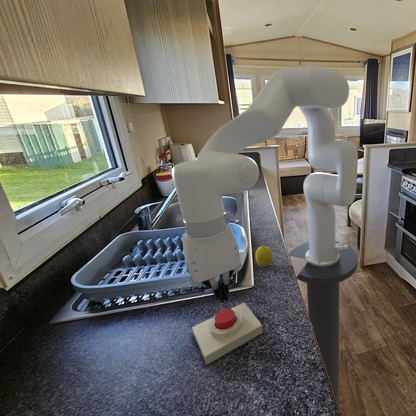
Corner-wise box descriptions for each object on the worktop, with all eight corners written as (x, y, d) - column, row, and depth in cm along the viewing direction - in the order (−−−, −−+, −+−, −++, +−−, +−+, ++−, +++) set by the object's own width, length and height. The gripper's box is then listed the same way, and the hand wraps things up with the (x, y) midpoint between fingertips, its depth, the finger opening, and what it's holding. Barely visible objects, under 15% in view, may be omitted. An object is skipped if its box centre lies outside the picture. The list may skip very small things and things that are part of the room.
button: (231, 312, 64) (230, 305, 63) (238, 323, 60) (237, 316, 60) (213, 321, 61) (211, 314, 60) (219, 333, 58) (218, 326, 57)
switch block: (245, 309, 69) (243, 297, 68) (262, 332, 62) (261, 319, 61) (193, 335, 62) (190, 322, 60) (206, 365, 55) (203, 351, 53)
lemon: (268, 273, 84) (265, 251, 81) (253, 269, 86) (250, 248, 83) (276, 263, 89) (274, 243, 86) (262, 261, 91) (260, 240, 88)
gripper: (235, 209, 58) (246, 276, 65) (160, 229, 50) (182, 304, 57) (250, 219, 53) (260, 292, 60) (168, 244, 44) (191, 325, 51)
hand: (222, 298), depth 58 cm, fingers closed
